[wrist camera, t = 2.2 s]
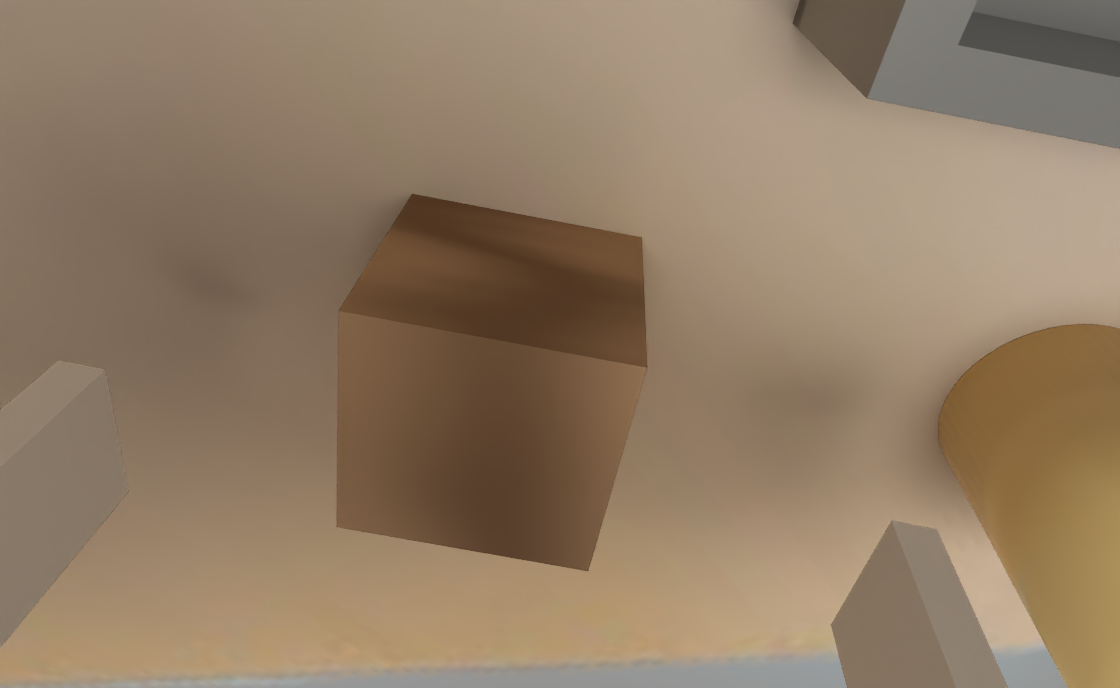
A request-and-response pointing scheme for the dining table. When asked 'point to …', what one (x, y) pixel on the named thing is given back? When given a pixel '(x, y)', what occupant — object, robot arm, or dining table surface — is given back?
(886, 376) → the dining table surface
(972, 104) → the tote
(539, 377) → the walnut cube
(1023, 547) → the ochre canister
